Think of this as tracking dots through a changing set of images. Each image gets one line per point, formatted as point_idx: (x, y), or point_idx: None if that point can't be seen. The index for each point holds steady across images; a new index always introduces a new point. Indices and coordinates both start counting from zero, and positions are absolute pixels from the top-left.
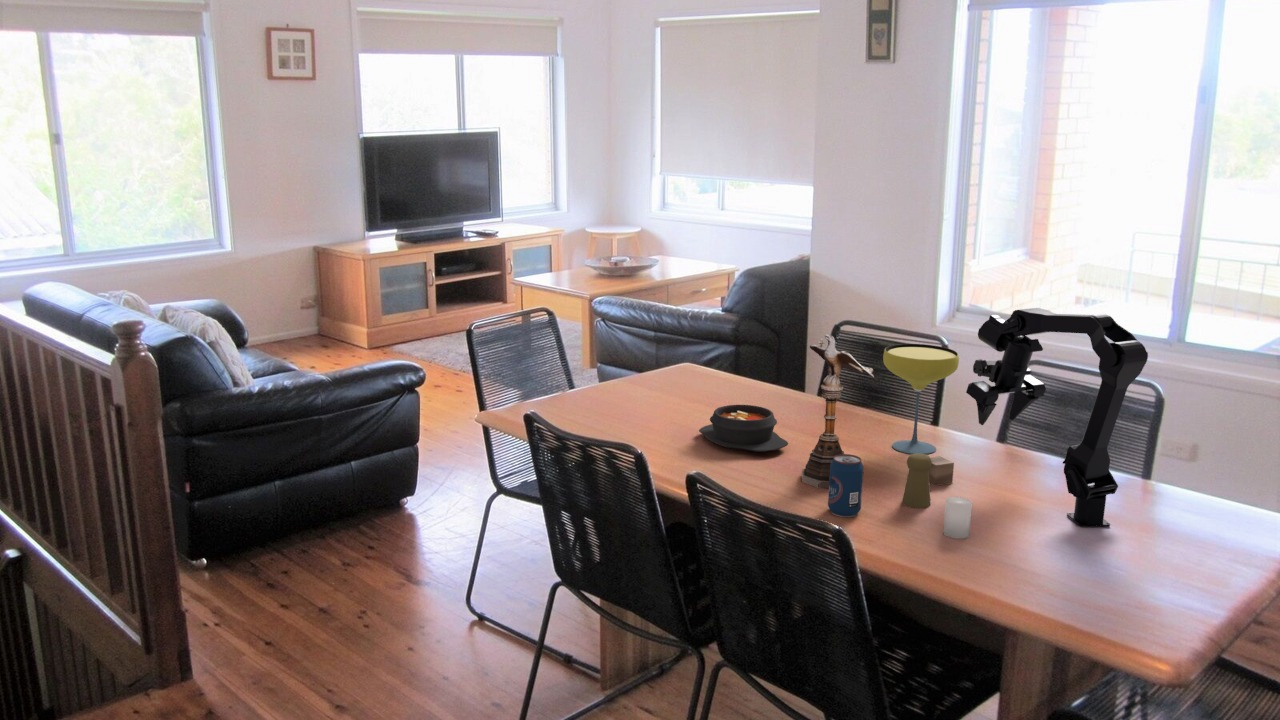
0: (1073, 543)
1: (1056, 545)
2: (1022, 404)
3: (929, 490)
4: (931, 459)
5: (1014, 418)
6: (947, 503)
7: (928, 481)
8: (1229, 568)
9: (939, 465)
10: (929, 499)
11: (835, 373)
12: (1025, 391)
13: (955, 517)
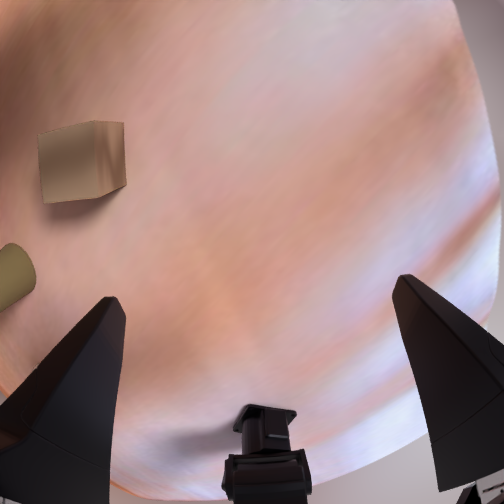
0: (185, 443)
1: (160, 439)
2: (441, 429)
3: (16, 298)
4: (53, 149)
5: (401, 316)
6: None
7: (1, 310)
8: None
9: (53, 202)
10: (25, 294)
11: None
12: (482, 502)
13: None
